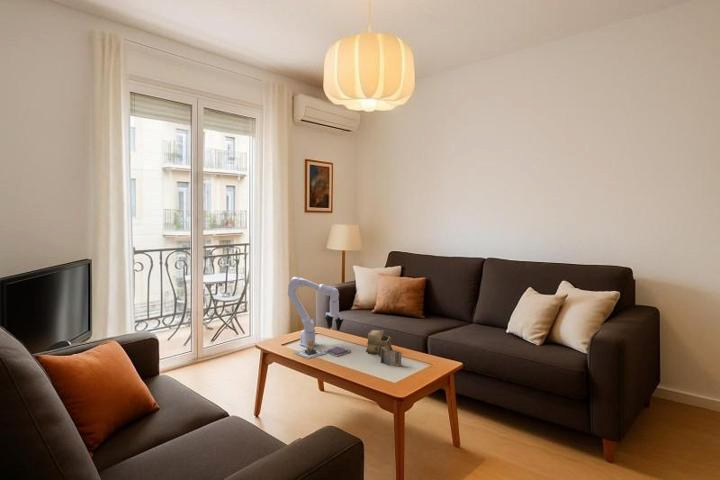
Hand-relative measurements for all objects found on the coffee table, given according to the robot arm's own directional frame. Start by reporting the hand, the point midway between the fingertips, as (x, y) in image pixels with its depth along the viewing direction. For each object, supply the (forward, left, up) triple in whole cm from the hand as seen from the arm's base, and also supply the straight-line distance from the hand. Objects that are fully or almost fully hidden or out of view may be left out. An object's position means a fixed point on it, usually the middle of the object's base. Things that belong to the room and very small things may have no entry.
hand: (334, 328), depth 265 cm
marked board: (+3, -22, -10) cm, 24 cm away
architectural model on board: (+48, -2, -11) cm, 49 cm away
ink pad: (+13, -9, -10) cm, 19 cm away
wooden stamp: (+3, -22, -10) cm, 24 cm away
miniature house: (+30, +9, -10) cm, 33 cm away
